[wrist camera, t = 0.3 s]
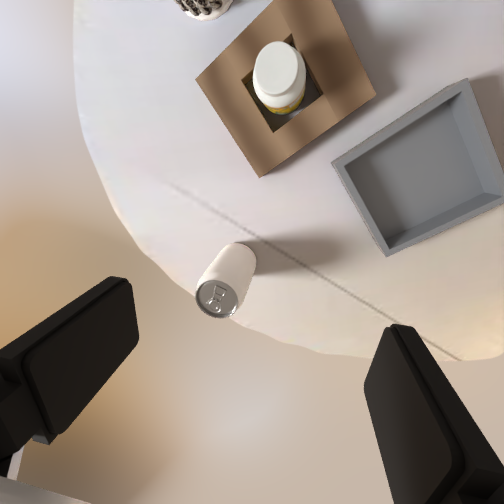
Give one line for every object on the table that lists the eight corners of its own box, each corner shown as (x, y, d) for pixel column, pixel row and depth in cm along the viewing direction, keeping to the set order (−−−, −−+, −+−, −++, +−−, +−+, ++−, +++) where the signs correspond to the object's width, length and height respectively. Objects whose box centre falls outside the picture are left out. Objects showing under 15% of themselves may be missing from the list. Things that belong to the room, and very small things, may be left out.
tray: (447, 86, 27) (467, 77, 24) (490, 193, 31) (513, 198, 28) (330, 162, 33) (334, 164, 29) (378, 247, 36) (386, 257, 33)
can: (215, 267, 42) (186, 308, 32) (227, 235, 40) (199, 268, 29) (248, 282, 42) (231, 328, 32) (263, 252, 40) (249, 291, 29)
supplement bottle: (314, 86, 30) (319, 61, 21) (284, 125, 32) (278, 116, 23) (281, 54, 29) (273, 14, 20) (253, 95, 31) (235, 75, 23)
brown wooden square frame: (311, -23, 26) (312, -40, 24) (370, 99, 29) (376, 94, 27) (202, 84, 32) (195, 79, 29) (261, 176, 35) (259, 178, 33)
